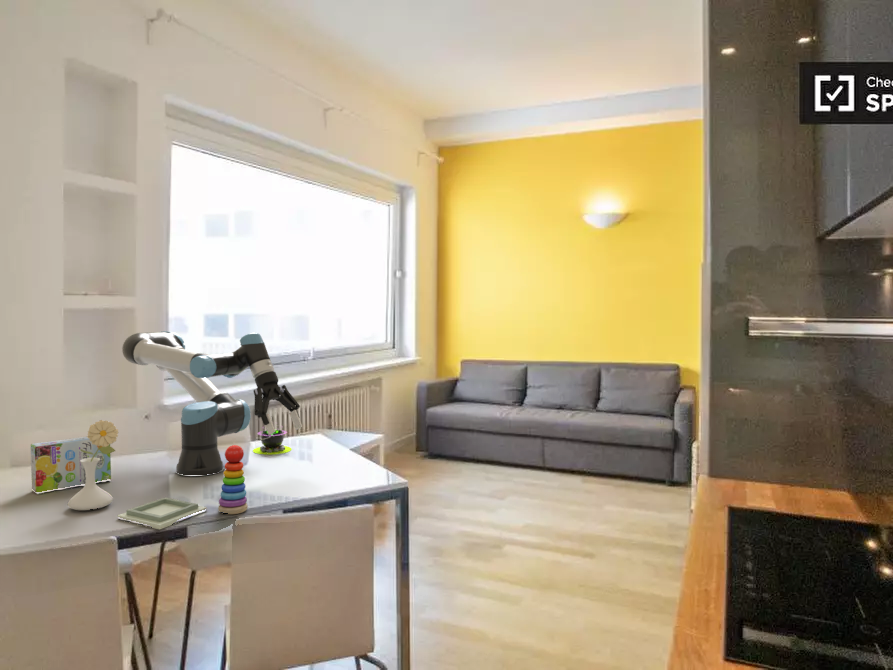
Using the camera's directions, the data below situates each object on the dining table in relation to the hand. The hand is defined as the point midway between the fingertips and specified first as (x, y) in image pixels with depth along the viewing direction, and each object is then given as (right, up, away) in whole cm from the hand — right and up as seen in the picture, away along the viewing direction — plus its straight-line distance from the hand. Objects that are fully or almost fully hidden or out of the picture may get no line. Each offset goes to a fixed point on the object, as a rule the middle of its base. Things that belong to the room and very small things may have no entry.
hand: (286, 430), depth 222 cm
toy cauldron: (-14, -13, +35) cm, 40 cm away
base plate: (-23, -17, -43) cm, 52 cm away
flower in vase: (-46, -17, -36) cm, 61 cm away
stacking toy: (-6, -17, -38) cm, 42 cm away
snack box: (-63, -15, -17) cm, 67 cm away
